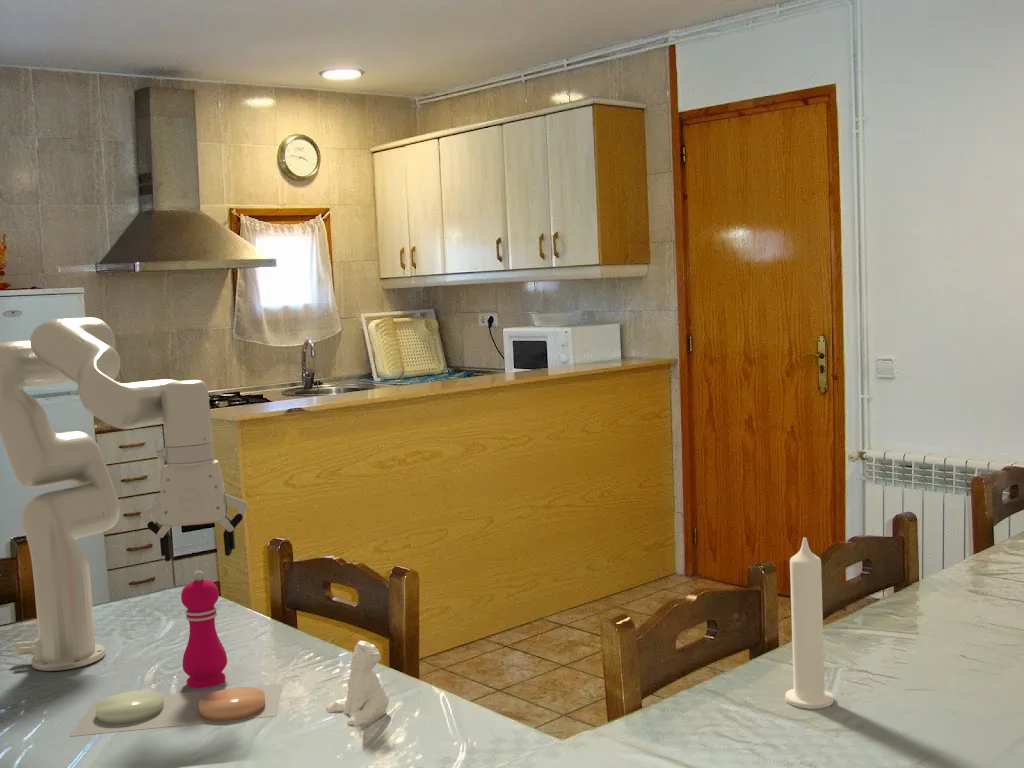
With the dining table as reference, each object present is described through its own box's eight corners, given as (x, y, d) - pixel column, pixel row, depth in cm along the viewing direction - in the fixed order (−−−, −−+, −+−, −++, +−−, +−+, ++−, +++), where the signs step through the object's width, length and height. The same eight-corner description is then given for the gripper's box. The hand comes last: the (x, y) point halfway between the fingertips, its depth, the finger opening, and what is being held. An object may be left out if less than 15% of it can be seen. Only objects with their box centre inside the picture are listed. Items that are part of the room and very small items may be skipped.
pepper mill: (216, 696, 174) (207, 576, 172) (176, 695, 175) (167, 576, 174) (236, 680, 181) (228, 565, 179) (197, 679, 182) (189, 565, 181)
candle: (834, 693, 162) (830, 532, 160) (832, 711, 155) (828, 543, 153) (787, 690, 164) (782, 531, 162) (783, 707, 158) (778, 542, 156)
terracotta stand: (194, 724, 159) (193, 714, 159) (204, 699, 169) (203, 690, 169) (262, 717, 161) (261, 707, 160) (268, 693, 170) (267, 684, 170)
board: (70, 744, 157) (69, 736, 157) (94, 708, 171) (93, 701, 171) (276, 723, 161) (275, 715, 161) (283, 690, 175) (282, 683, 175)
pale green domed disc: (88, 727, 160) (88, 717, 160) (104, 702, 170) (104, 693, 170) (157, 720, 161) (156, 710, 161) (169, 696, 171) (168, 687, 171)
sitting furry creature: (322, 717, 163) (317, 641, 162) (371, 702, 168) (366, 628, 167) (352, 735, 155) (347, 655, 154) (402, 719, 161) (398, 641, 160)
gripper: (130, 462, 170) (140, 567, 171) (241, 453, 172) (249, 557, 173) (140, 456, 177) (149, 556, 179) (246, 448, 180) (254, 547, 181)
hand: (199, 556), depth 176 cm, fingers open, 9 cm apart
